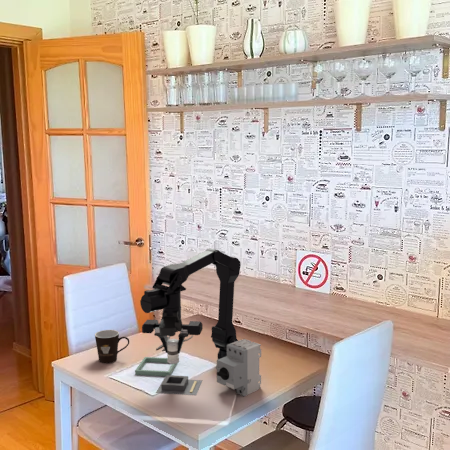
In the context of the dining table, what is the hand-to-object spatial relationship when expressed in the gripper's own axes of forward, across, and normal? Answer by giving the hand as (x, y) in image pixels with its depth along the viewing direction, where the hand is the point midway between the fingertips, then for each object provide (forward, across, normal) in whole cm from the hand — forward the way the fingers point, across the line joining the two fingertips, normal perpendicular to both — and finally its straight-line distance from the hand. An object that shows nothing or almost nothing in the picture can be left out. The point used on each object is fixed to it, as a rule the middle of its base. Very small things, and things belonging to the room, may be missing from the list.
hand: (173, 352), depth 185 cm
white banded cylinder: (+3, 0, 0) cm, 3 cm away
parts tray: (+12, -9, +12) cm, 19 cm away
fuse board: (+12, +2, -1) cm, 12 cm away
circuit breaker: (+12, +21, 0) cm, 24 cm away
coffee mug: (+12, -28, +19) cm, 36 cm away
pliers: (+13, -8, +40) cm, 43 cm away
